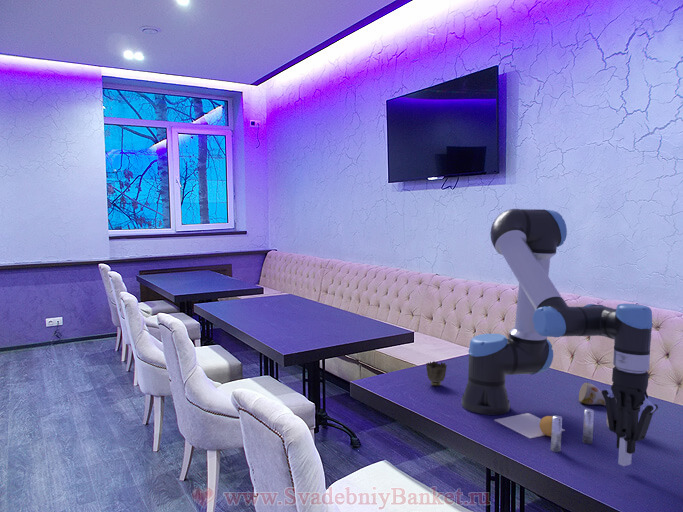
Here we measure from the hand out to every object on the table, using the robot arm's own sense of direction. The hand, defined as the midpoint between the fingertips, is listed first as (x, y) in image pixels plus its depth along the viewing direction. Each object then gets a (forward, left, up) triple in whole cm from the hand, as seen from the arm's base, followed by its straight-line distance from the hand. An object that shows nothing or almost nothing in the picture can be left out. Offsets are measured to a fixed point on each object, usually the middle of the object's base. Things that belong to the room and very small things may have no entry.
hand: (624, 463), depth 121 cm
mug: (-35, +35, -2) cm, 49 cm away
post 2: (-15, +6, -2) cm, 16 cm away
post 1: (-15, -6, -2) cm, 16 cm away
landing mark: (-30, 0, -2) cm, 30 cm away
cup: (-71, -4, -2) cm, 71 cm away
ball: (-22, 0, +1) cm, 22 cm away
